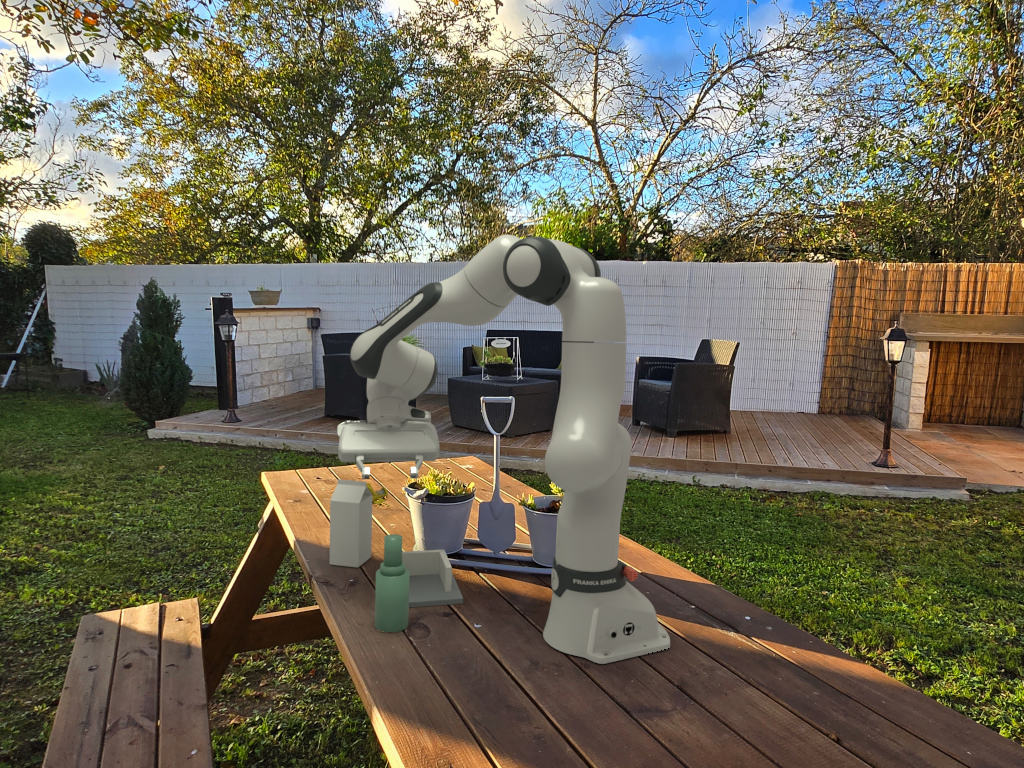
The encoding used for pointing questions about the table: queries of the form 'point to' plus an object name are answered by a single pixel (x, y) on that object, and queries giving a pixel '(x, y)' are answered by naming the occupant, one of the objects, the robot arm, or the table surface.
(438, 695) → the table surface
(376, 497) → the sprinkler
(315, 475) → the table surface
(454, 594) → the bottle holder
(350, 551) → the milk carton
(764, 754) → the table surface
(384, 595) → the bottle
